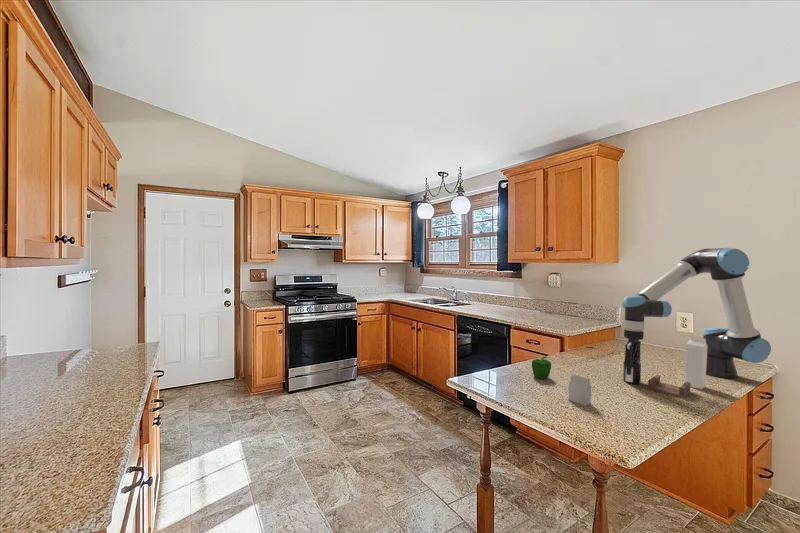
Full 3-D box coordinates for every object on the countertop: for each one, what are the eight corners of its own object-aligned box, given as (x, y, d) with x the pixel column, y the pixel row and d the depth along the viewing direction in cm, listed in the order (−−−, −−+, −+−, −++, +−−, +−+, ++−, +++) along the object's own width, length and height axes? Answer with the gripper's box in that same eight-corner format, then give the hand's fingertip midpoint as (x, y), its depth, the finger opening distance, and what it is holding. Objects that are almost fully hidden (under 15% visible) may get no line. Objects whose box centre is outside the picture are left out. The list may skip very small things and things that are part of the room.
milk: (701, 389, 160) (704, 339, 159) (684, 385, 165) (687, 337, 164) (705, 386, 164) (708, 338, 163) (688, 382, 169) (691, 335, 168)
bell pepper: (530, 378, 168) (531, 357, 168) (531, 373, 176) (532, 352, 176) (550, 381, 165) (551, 359, 165) (550, 376, 173) (551, 355, 173)
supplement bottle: (638, 380, 169) (639, 354, 169) (642, 385, 163) (643, 358, 163) (621, 378, 172) (622, 353, 171) (624, 383, 165) (626, 356, 165)
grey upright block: (585, 405, 138) (586, 379, 138) (568, 399, 144) (569, 374, 143) (590, 403, 140) (591, 378, 140) (573, 398, 146) (574, 373, 146)
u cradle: (655, 383, 166) (656, 374, 166) (690, 391, 157) (690, 382, 157) (647, 389, 158) (648, 380, 158) (683, 398, 149) (684, 388, 149)
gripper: (631, 326, 176) (629, 373, 177) (617, 330, 163) (614, 381, 164) (649, 328, 170) (647, 377, 171) (636, 333, 157) (634, 386, 158)
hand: (631, 379), depth 167 cm, fingers closed on supplement bottle, 7 cm apart
